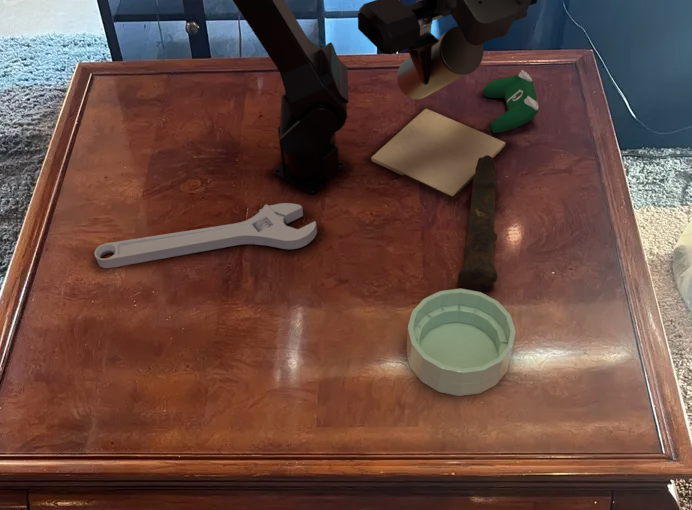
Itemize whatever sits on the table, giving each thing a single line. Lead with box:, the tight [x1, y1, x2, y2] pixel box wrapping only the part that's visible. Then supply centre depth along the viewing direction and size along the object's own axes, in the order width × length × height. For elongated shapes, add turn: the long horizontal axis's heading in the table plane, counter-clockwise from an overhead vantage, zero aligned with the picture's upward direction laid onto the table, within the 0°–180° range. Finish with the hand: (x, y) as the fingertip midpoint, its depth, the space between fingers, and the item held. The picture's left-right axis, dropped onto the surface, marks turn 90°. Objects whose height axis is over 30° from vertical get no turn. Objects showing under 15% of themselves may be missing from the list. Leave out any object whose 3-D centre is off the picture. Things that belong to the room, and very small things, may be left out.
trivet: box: [370, 108, 506, 198], centre depth 101 cm, size 12×12×1 cm
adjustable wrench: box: [94, 202, 318, 269], centre depth 93 cm, size 25×6×2 cm, turn 96°
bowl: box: [405, 288, 517, 397], centre depth 80 cm, size 10×10×4 cm
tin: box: [396, 25, 484, 100], centre depth 90 cm, size 5×5×12 cm
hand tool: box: [456, 155, 499, 292], centre depth 90 cm, size 19×4×5 cm, turn 168°
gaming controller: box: [483, 69, 540, 134], centre depth 104 cm, size 9×4×6 cm
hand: (443, 75), depth 89 cm, fingers closed on tin, 5 cm apart
